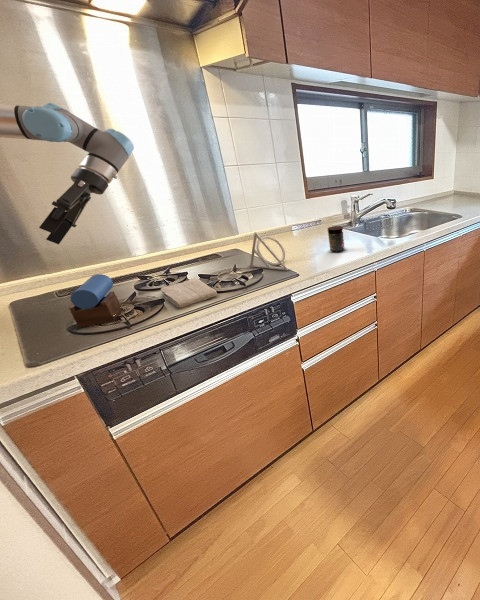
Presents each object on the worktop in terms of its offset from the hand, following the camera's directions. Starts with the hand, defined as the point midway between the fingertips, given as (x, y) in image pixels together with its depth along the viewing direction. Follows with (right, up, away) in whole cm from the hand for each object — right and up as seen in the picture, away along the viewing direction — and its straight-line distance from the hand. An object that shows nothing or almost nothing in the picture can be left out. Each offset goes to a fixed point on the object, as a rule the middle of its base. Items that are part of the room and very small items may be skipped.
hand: (49, 236), depth 88 cm
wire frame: (+45, -3, +44) cm, 63 cm away
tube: (+8, -15, +5) cm, 17 cm away
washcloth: (+26, -16, +19) cm, 36 cm away
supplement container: (+67, +5, +60) cm, 90 cm away
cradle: (+9, -23, +6) cm, 25 cm away
